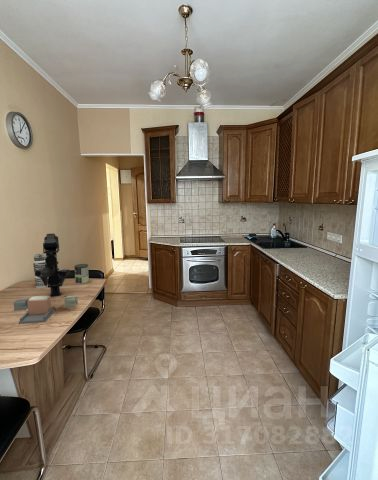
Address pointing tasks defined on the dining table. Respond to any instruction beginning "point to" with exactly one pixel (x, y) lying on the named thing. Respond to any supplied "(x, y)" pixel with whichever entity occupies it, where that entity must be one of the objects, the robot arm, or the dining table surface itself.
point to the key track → (36, 317)
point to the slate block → (21, 304)
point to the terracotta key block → (39, 305)
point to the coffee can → (81, 273)
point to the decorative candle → (39, 264)
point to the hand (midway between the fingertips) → (53, 286)
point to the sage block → (70, 301)
